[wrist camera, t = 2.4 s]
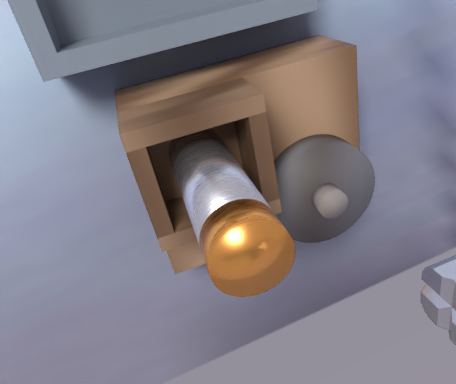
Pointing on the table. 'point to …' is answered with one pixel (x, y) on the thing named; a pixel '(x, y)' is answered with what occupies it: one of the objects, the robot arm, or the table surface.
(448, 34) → the table surface
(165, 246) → the wooden holder block
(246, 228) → the lock pin
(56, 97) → the table surface
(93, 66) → the tray
